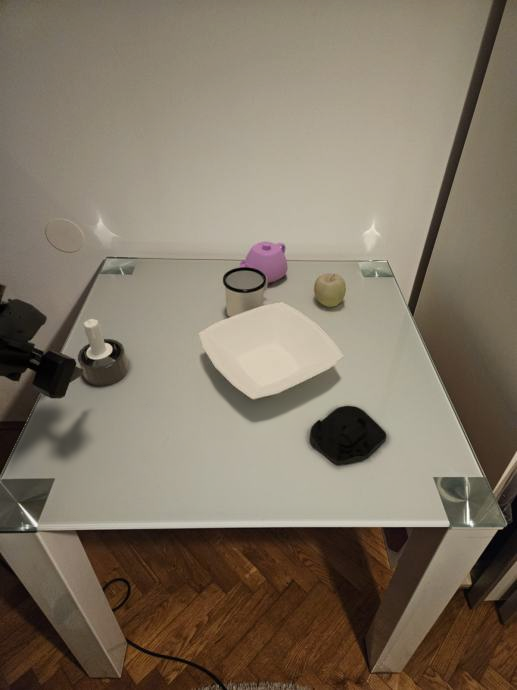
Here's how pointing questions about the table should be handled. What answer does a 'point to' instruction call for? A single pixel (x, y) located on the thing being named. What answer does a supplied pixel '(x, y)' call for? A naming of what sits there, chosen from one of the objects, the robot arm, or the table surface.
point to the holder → (104, 373)
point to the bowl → (269, 349)
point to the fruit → (330, 289)
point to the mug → (244, 289)
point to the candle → (97, 344)
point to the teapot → (267, 260)
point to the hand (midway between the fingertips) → (61, 363)
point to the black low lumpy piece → (346, 435)
